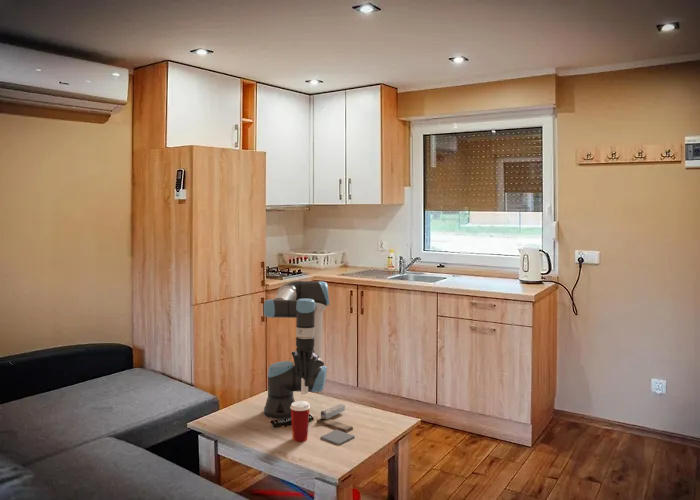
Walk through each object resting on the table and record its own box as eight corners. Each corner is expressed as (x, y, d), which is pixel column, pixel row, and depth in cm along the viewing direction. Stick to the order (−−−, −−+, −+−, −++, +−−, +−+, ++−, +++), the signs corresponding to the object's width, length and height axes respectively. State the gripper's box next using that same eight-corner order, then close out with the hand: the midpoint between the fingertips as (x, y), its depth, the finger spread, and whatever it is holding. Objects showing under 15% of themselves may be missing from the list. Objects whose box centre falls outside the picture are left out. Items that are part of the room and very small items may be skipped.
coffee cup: (314, 439, 237) (314, 403, 236) (299, 445, 231) (299, 409, 230) (300, 433, 243) (300, 398, 241) (285, 439, 237) (285, 403, 235)
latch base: (316, 422, 255) (316, 419, 255) (323, 419, 258) (323, 416, 258) (346, 432, 244) (346, 429, 244) (352, 429, 248) (352, 426, 248)
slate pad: (320, 438, 238) (320, 436, 238) (336, 431, 245) (336, 429, 245) (338, 445, 231) (339, 443, 231) (354, 437, 239) (354, 435, 239)
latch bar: (324, 420, 253) (324, 413, 253) (319, 418, 255) (319, 412, 255) (344, 410, 266) (344, 403, 265) (339, 409, 267) (339, 402, 267)
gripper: (287, 336, 236) (286, 392, 238) (311, 340, 228) (310, 399, 230) (299, 333, 242) (298, 388, 244) (323, 337, 234) (322, 394, 236)
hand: (304, 393), depth 237 cm, fingers closed
